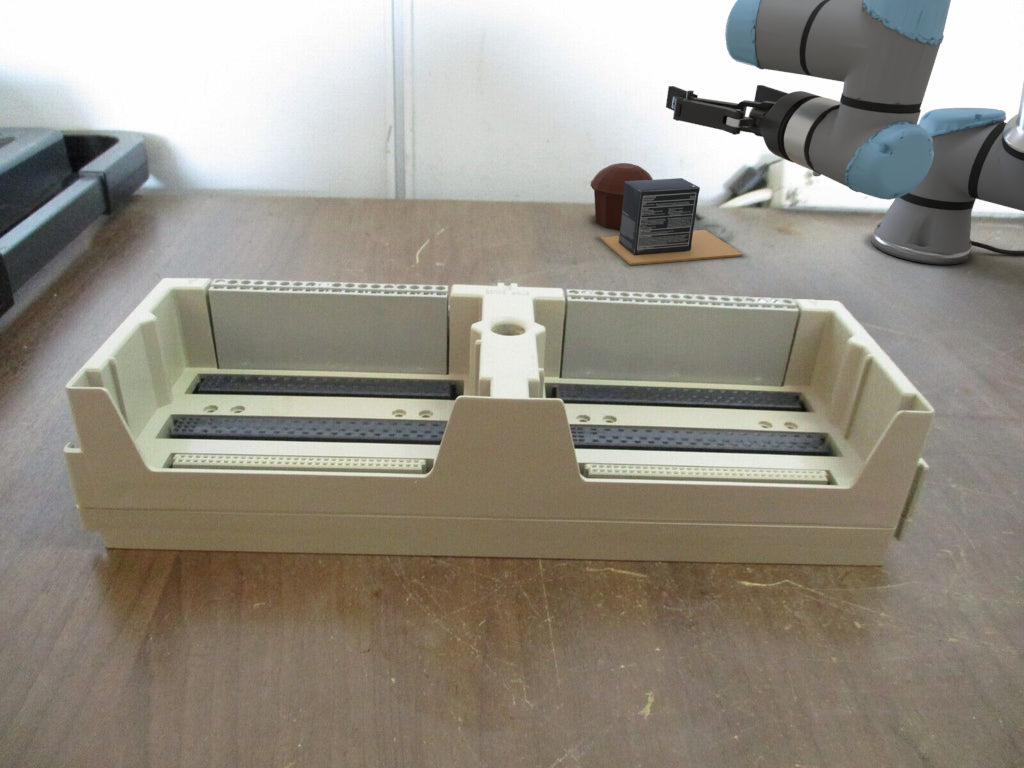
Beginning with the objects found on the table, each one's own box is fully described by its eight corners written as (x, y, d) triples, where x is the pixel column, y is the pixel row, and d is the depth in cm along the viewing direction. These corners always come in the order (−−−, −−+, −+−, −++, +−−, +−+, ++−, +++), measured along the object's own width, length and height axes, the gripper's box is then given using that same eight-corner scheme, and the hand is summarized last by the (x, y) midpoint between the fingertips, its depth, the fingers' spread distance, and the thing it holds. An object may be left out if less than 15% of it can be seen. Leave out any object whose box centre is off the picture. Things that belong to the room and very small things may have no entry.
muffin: (625, 208, 145) (631, 154, 139) (664, 226, 137) (672, 170, 131) (574, 216, 139) (578, 161, 134) (611, 235, 131) (618, 177, 126)
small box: (673, 237, 130) (682, 176, 125) (692, 251, 125) (702, 187, 120) (616, 241, 127) (623, 179, 122) (633, 255, 122) (641, 190, 117)
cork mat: (705, 231, 135) (705, 229, 135) (741, 256, 125) (742, 254, 125) (600, 239, 129) (600, 237, 129) (630, 265, 119) (630, 263, 119)
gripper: (707, 168, 86) (627, 126, 103) (889, 160, 92) (786, 122, 110) (719, 98, 82) (634, 66, 99) (908, 95, 89) (798, 66, 106)
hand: (714, 95), depth 104 cm, fingers open, 13 cm apart
